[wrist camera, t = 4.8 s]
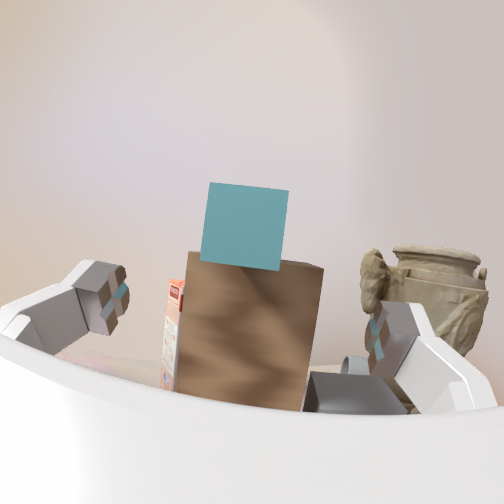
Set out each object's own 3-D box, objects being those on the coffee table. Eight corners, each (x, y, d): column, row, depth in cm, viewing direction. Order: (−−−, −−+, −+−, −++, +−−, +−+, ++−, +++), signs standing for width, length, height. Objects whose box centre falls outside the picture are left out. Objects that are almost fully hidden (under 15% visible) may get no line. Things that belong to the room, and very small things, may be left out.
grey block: (282, 538, 21) (320, 409, 21) (283, 490, 29) (310, 371, 29) (352, 537, 20) (407, 411, 20) (341, 492, 28) (379, 375, 28)
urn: (412, 406, 52) (443, 255, 52) (476, 445, 34) (523, 261, 34) (304, 422, 46) (336, 237, 46) (360, 490, 28) (423, 237, 28)
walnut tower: (173, 521, 22) (188, 251, 21) (199, 458, 33) (220, 251, 33) (266, 537, 21) (324, 268, 21) (271, 470, 33) (307, 262, 33)
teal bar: (199, 260, 12) (210, 182, 12) (252, 255, 38) (255, 229, 38) (278, 271, 12) (288, 190, 12) (278, 258, 38) (281, 232, 38)
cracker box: (171, 419, 42) (181, 284, 42) (159, 401, 47) (167, 277, 47) (249, 408, 50) (266, 288, 50) (231, 393, 55) (245, 282, 55)
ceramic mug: (379, 397, 57) (388, 363, 57) (342, 395, 58) (350, 360, 58) (367, 379, 68) (374, 349, 68) (334, 377, 68) (340, 346, 68)
